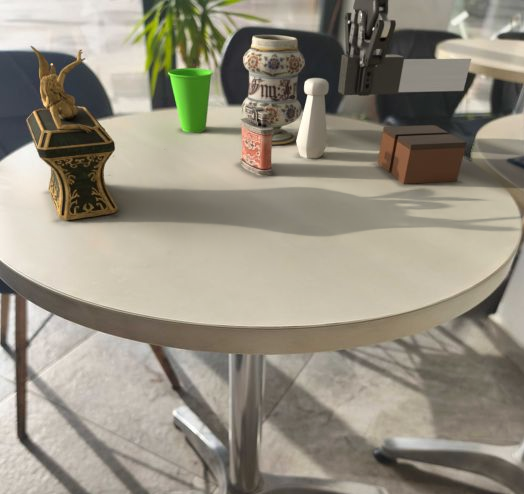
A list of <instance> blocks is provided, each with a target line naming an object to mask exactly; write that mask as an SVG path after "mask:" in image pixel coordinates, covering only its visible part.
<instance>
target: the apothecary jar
mask: <svg viewBox="0 0 524 494" xmlns="http://www.w3.org/2000/svg"><path fill="white" fill-rule="evenodd" d="M298 43H299V42H298V39H297V38H296V37H294V36H288V35H280V34H279V35H278V34H255V35H252V39H251V45H250V48H249V49H248V50H247V51H246V52H245V53H244V55H243V57H242V63H243V67H244V68H245V69H246V70H247V71H248V92H247V96H246V97H245V99H244V100H243V102H242V104H241V112H242V115H243V116H244V118H249V116H250V115H249V114H247V113H245V106H246V105H247V104H250V105H253V106H255V107H256V108H257V107H263V109H264V111H265V112H267V113H268V120H267V124H269V125H271V126H272V127H273V133H272V146H277V145H287V144H290V143H292V142H294V141H295V135H294V134H293V133H291V132H289V131H287V130H285V129H284V128H282V127H284V126H288V125H290V124H293V123H295V122H296V121H297V120H298V119H299V118H300V116H301V115H302V111H303V110H302V105H301V102H300V101H299V100H298V99H297V95H298V91H297V90H298V79H299V73H301V71H302V70H304V67H305V65H306V64H305V63H306V62H305V61H306V60H305V58H304V54H303V53H301V52H300V50H299V47H298Z"/></svg>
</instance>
